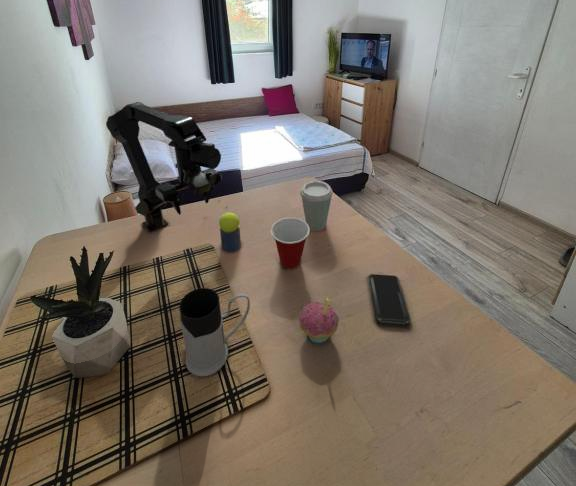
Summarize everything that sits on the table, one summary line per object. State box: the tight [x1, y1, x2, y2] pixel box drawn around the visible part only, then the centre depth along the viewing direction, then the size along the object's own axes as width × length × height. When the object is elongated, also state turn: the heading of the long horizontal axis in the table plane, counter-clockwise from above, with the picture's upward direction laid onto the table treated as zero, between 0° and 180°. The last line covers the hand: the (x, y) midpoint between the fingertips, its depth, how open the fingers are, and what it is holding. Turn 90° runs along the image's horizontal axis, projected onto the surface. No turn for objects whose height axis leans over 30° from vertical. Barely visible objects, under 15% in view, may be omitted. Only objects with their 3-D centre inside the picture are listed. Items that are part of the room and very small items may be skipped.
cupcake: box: [298, 296, 340, 344], centre depth 71 cm, size 9×8×12 cm
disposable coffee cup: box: [299, 180, 334, 232], centre depth 108 cm, size 11×11×15 cm
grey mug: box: [178, 287, 251, 377], centre depth 66 cm, size 9×14×15 cm, turn 113°
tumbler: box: [219, 225, 242, 253], centre depth 100 cm, size 6×6×7 cm
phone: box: [368, 273, 411, 327], centre depth 82 cm, size 8×1×15 cm
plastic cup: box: [270, 216, 311, 270], centre depth 92 cm, size 11×11×12 cm
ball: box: [218, 212, 240, 233], centre depth 98 cm, size 6×6×6 cm
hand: (193, 208), depth 99 cm, fingers open, 9 cm apart
